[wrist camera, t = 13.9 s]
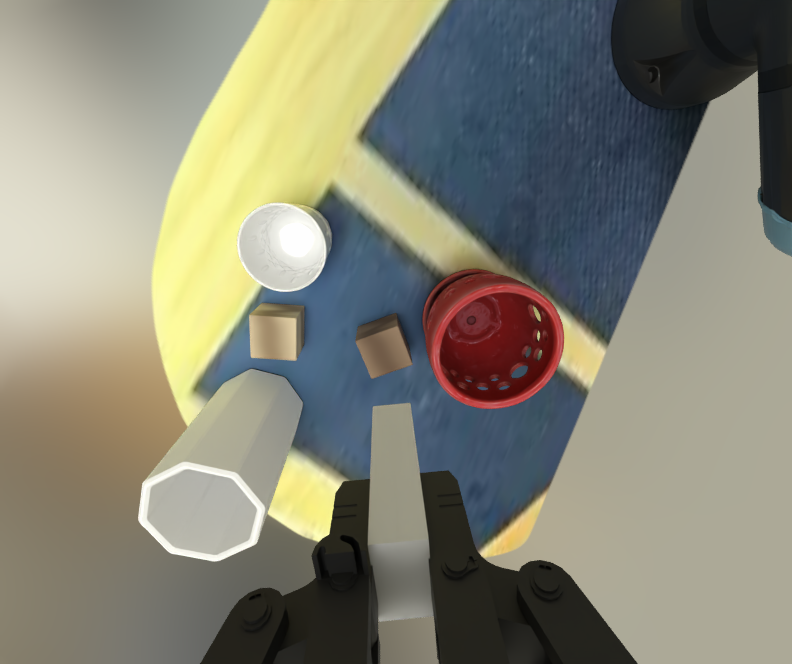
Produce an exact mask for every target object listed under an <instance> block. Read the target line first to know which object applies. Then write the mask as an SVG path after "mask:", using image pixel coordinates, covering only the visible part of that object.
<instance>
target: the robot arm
mask: <svg viewBox="0 0 792 664" xmlns="http://www.w3.org/2000/svg"><path fill="white" fill-rule="evenodd" d="M612 50H613V57H614V61H615V65H616V68H617V71H618V73H619V76H620V78H621V80H622V81H623V83H624V84H625V86H626V87H627V89H628V90H629V91H630V92H631V93H632V94H633V95H634V96H635V97H636V98H638V99H639V100H640V101H642V102H644V103H646V104H648V105H650V106H653V107H656V108H660V109H671V110H672V109H682V108H687V107H691V106H694V105H698V104H702V103H705V102H708V101H711V100H713V99H715V98H717V97H719V96H721V95H723V94H725V93H727V92H728V91H730V90H731V89H733V88H734V87H736V86H737V85H738V84H739V83H741V82H742V81H744V80H745V79H746V78H748V77H749V76H751V75H752V74H753V73H755V72H756V71H757V70H758V103H759V104H758V106H759V136H760V137H759V138H760V167H761V168H760V170H761V187H760V188H759V190H758V202H759V204H760V206H761V208H762V214H763V225H764V232H765V235H766V237H767V238H768V239H769V240H770V242H771V243H772V244H773V245H774V247H775V248H777V249H778V250H780V251H782V252H783V253H785V254H788V255H790V256H792V0H618V3H617V7H616V10H615V14H614V20H613V27H612ZM312 560H313V564H314V569H315V574H316V578H315V579H314V580H313V581H312V582H310V583H309V584H308V585H306V586H304V587H302V588H300V589H298V590H296V591H293V592H291V593H289V594H286V595H284V596H282V595H281V594H280V592H279V591H277V590H275V589H272V588H260V589H257V590H255V591H252V592H250V593H248V594H247V595H246V596H244V597H243V598H242V599H240V600H239V601H238V603H237V604H236V605H235V606H234V608H233V609H232V610H231V612H230V614H229V615H228V617H227V619H226V620H225V622H224V624H223V626H222V627H221V629H220V631H219V632H218V634H217V636H216V638H215V640H214V641H213V643H212V644H211V646H210V648H209V650H208V651H207V653H206V655H205V657H204V658H203V660H202V662H201V663H200V664H380V642H379V635H378V618H379V622H380V621H390V620H400V619H410V618H421V617H432V616H434V622H435V633H436V645H437V657H438V660H439V664H637V662H636V661H635V660H634V658H633V657H632V656H631V655H630V653H629V652H628V651H627V650H626V648H625V647H624V645H623V644H622V643H621V641H620V640H619V639H618V638H617V636H616V635H615V634H614V632H613V631H612V630H611V628H610V627H609V626H608V625H607V623H606V622H605V621H604V619H603V618H602V617H601V615H600V614H599V613H598V612H597V610H596V609H595V608H594V606H593V605H592V604H591V602H590V601H589V600H588V599H587V597H586V596H585V595H584V593H583V592H582V591H581V590H580V588H579V587H578V586H577V584H576V583H575V582H574V580H573V579H572V578H571V576H570V575H568V574H567V573H566V572H565V571H564V570H563V569H562V568H561V567H559V566H557V565H555V564H553V563H551V562H547V561H542V560H537V561H530V562H528V563H526V564H525V565H523V566H522V567H521V569H520V571H514V570H510V569H504V568H501V567H498V566H495V565H493V564H491V563H489V562H487V561H486V560H485V559H484V558H483V557H482V556H481V555H480V554H479V553H478V551H477V550H476V547H475V545H474V542H473V538H472V534H471V531H470V527H469V523H468V519H467V515H466V511H465V508H464V505H463V500H462V496H461V492H460V488H459V485H458V481H457V480H456V478H455V477H454V476H453V475H452V474H451V473H450V472H449V471H438V472H428V473H420V472H419V464H418V457H417V450H416V442H415V435H414V427H413V420H412V412H411V405H410V403H404V404H394V405H383V406H373V418H372V445H371V471H370V479H365V480H355V481H344V482H343V483H342V485H341V486H340V488H339V489H338V491H337V492H336V494H335V501H334V509H333V515H332V521H331V528H330V534H329V535H328V536H326V537H324V538H323V539H322V540H321V541H320V542H319V543H318V544H317V545H316V546H315V548H314V551H313V553H312Z"/></svg>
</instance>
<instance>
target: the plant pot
mask: <svg viewBox="0 0 792 664" xmlns="http://www.w3.org/2000/svg"><path fill="white" fill-rule="evenodd" d="M533 306H534V307H536V309H537V310H538V312H539V314H540V317H541V321H538V319H537V318H536V316H535V313H534V310H533ZM422 322H423V329H424V333H425V339H426V348H427V353H428V357H429V361H430V364H431V367H432V370H433V372H434V374H435V376H436V378H437V380H438V382H439V383H440V385H441V386H442V387H443V389H444V390H445V391H446V392H447V393H448V394H449V395H451V396H452V397H453V398H455V399H456V400H458V401H460V402H462V403H464V404H466V405H469V406H473V407H477V408H485V409H495V408H503V407H508V406H512V405H515V404H518V403H520V402H522V401H524V400H526V399H528V398H530V397H531V396H533V395H534V394H535V393H537V392H538V391H539V390H540V389H541V388H543V387H544V385H545V384H546V383H547V382H548V381H549V380H550V378H551V377H552V376H553V374H554V372H555V371H556V369H557V367H558V364H559V362H560V359H561V356H562V352H563V347H564V332H563V325H562V322H561V319H560V316H559V314H558V312H557V310H556V309H555V307H554V306H553V304H552V303H551V302H550V301H549V300H548V299H547V298H546V297H545V296H543V295H542V294H541V293H539V292H538V291H536V290H535V289H533V288H532V287H530V286H528V285H527V284H525V283H522V282H520V281H518V280H515V279H513V278H510V277H507V276H503V275H498V274H494V273H492V272H489V271H486V270H480V269H470V270H464V271H460V272H457V273H454V274H452V275H450V276H448V277H447V278H445V279H444V280H442V281H441V282H440V283H439V284H438V285H437V286H436V287H435V288H434V289H433V291H432V292H431V293H430V295H429V296H428V298H427V301H426V303H425V306H424V310H423V321H422ZM538 330H539V332H540V339H539V341H538V339H537V333H538ZM547 335H548V336H547ZM529 347H531V354H530V355H529V357H527V358H526V356H525V354H526V351H527V349H528V348H529ZM540 350H542V356H541V358H540V360H539V361H538V359H537V356H538V353H539V351H540ZM524 365H526V366H528V370H527V372H526V374H525V375H524V376H522V377H520V378H512V377H511V375H512V373H513V371H514V370H515V369H517V368H518V367H520V366H524ZM494 378H498V380H497V381H491V380H492V379H494ZM465 379H466V380H470V381H471V382H468V381H466V380H465ZM502 386H510V387H509V388H507V389H504V390H499V388H500V387H502ZM461 387H462V388H461ZM477 387H486V388H488V390H480V389H478V388H477Z"/></svg>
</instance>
